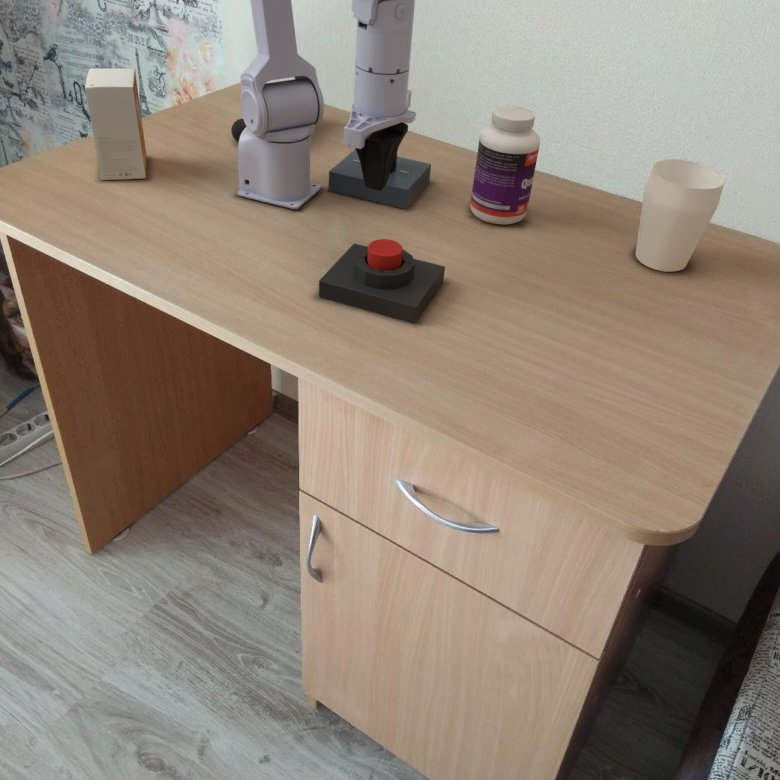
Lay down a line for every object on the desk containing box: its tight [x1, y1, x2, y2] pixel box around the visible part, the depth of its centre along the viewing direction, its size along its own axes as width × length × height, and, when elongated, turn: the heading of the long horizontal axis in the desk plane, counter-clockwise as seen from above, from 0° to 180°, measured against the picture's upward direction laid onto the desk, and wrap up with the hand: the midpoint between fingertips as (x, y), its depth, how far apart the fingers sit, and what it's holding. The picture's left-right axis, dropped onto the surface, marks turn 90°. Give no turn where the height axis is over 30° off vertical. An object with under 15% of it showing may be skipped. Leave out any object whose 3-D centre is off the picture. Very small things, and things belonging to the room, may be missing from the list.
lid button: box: [367, 238, 404, 270], centre depth 90 cm, size 4×4×2 cm
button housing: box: [318, 242, 446, 324], centre depth 91 cm, size 12×10×4 cm
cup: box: [635, 158, 726, 273], centre depth 99 cm, size 9×9×12 cm
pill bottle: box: [469, 105, 541, 225], centre depth 105 cm, size 8×8×14 cm
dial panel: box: [328, 149, 432, 210], centre depth 113 cm, size 12×10×3 cm
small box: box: [84, 67, 147, 181], centre depth 109 cm, size 8×6×13 cm
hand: (375, 186), depth 90 cm, fingers closed
